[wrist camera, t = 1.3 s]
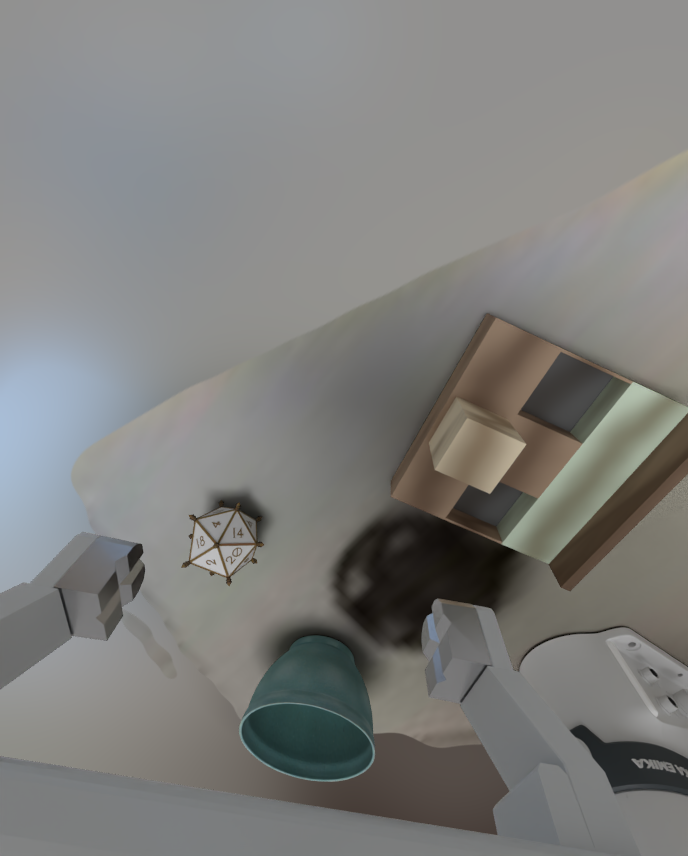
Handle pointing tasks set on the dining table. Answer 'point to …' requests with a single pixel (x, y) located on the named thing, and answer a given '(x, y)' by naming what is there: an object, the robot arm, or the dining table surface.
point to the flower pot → (311, 714)
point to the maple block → (474, 445)
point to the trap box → (553, 452)
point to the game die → (223, 541)
